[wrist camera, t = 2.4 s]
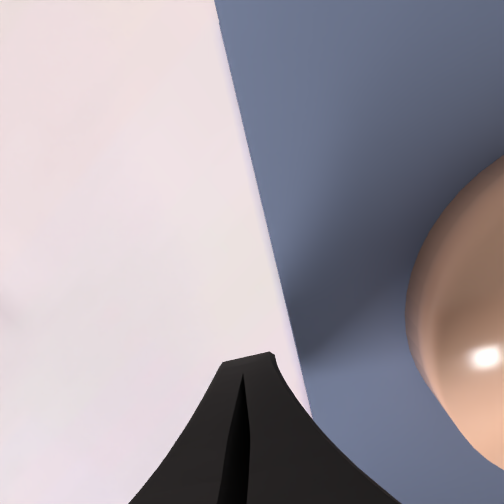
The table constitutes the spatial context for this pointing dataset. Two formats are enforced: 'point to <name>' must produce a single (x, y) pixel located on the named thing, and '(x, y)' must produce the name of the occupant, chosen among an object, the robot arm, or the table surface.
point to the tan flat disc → (464, 311)
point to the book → (369, 204)
